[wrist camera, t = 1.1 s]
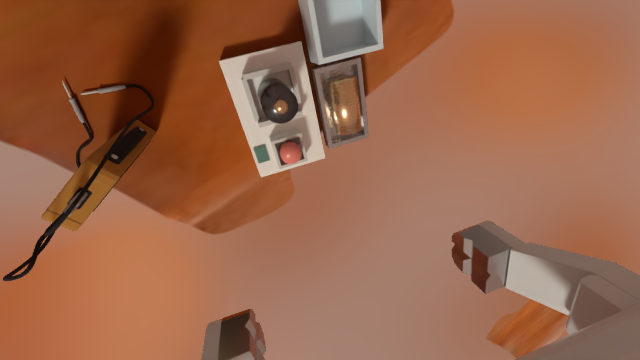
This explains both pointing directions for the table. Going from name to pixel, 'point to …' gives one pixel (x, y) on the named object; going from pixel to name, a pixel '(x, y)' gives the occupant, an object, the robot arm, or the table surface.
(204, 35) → the table surface
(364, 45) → the grey square open box
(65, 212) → the multimeter
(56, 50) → the table surface
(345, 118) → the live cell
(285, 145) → the button
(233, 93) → the battery tester
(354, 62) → the trough
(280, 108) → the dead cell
